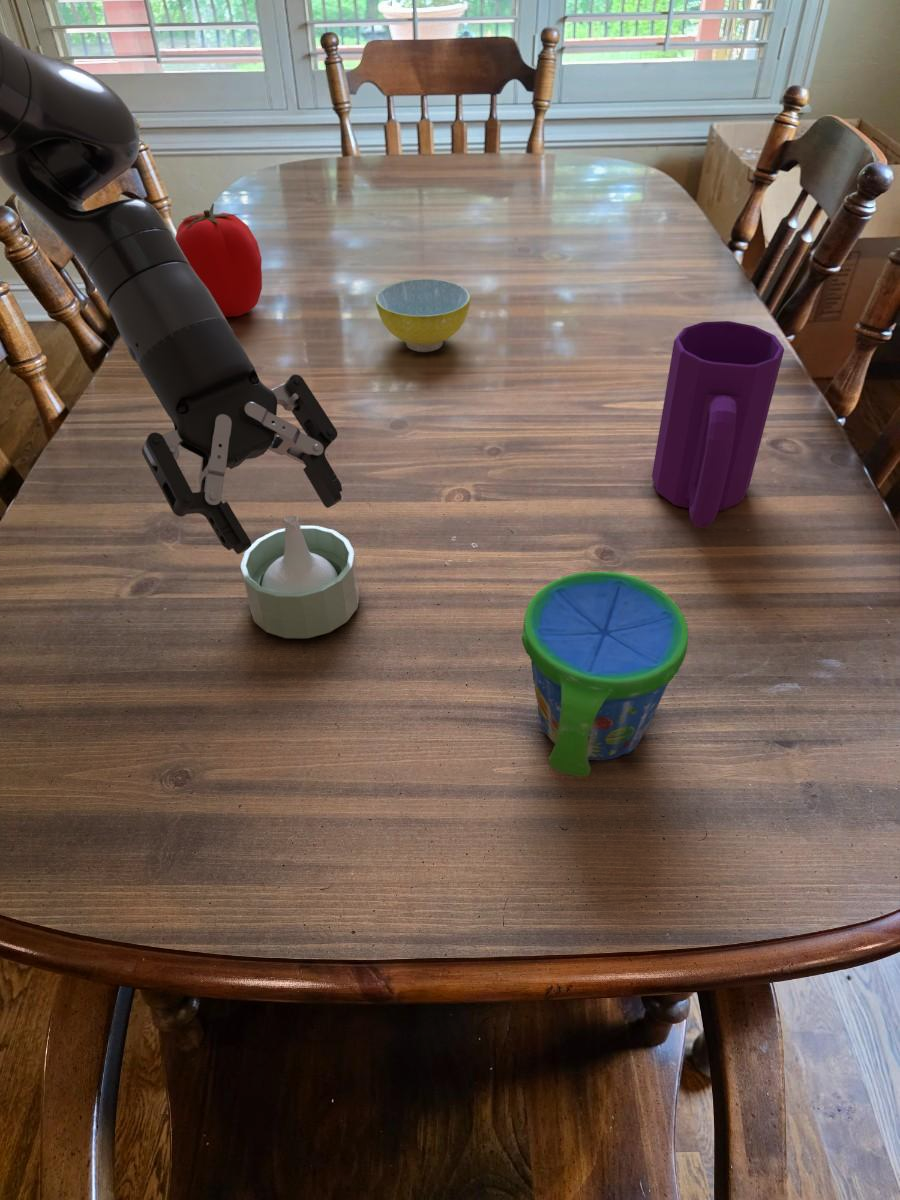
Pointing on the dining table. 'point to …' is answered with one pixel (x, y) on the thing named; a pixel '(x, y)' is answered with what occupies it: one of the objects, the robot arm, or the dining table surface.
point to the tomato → (223, 259)
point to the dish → (311, 607)
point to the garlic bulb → (297, 564)
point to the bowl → (423, 311)
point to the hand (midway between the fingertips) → (291, 526)
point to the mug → (714, 415)
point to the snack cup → (600, 662)
